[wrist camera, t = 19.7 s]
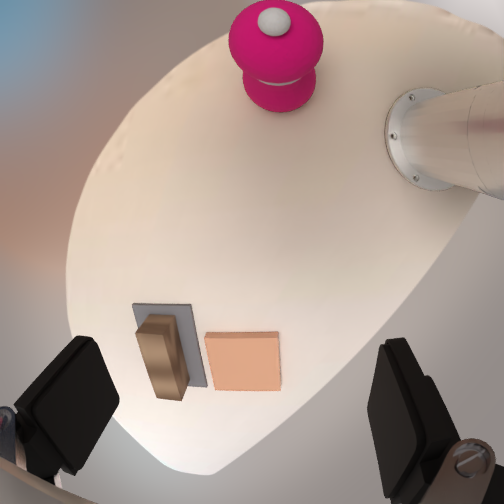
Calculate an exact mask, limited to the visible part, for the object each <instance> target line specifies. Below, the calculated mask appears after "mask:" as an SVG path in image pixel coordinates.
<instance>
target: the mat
mask: <svg viewBox="0 0 504 504" xmlns="http://www.w3.org/2000/svg"><path fill="white" fill-rule="evenodd" d="M132 308H133V311H134V315H135V319H136V322H137V326H138V329H139V327H140V326H141V325H142V323H143V322H144V321H145V319H146V318H147V317H148V315H149V314H156V315H175V318H176V322H177V327H178V331H179V336H180V340H181V345H182V349H183V353H184V357H185V361H186V365H187V369H188V373H189V377H190V381H189V384H188V386H193V387H207V386H208V385H207V381H206V376H205V372H204V367H203V362H202V358H201V353H200V348H199V343H198V338H197V333H196V328H195V323H194V318H193V312H192V307H191V304H137V303H133V304H132Z"/></svg>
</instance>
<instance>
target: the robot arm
mask: <svg viewBox="0 0 504 504" xmlns="http://www.w3.org/2000/svg"><path fill="white" fill-rule="evenodd" d="M409 97H411V100H410V99H409ZM391 134H392V135H393V138H391V136H390V135H391ZM385 140H386V145H387V150H388V153H389V155H390V158H391V160H392V162H393V164H394V166H395V167H396V169H397V170H398V171H399V173H400V174H401V175H402V176H403V177H404V178H405V179H406V180H407V181H409V182H410V183H412V184H413V185H415V186H417V187H420V188H422V189H426V190H430V191H442V190H447V189H449V188H451V187H453V186H455V185H458V186H461V187H464V188H467V189H471V190H474V191H477V192H480V193H483V194H486V195H489V196H492V197H495V198H498V199H501V200H504V81H499V82H495V83H491V84H486V85H481V86H477V87H473V88H469V89H465V90H461V91H457V92H453V93H449V94H446V93H444V92H442V91H440V90H437V89H433V88H418V89H414V90H411V91H409V92H407V93H405V94H404V95H402V96H400V98H399V99H398V100H397V101H396V102H395V103H394V104H393V106H392V108H391V109H390V111H389V114H388V117H387V121H386V127H385ZM413 176H415V178H414V179H413ZM118 405H119V395H118V393H117V390H116V388H115V386H114V384H113V381H112V379H111V377H110V374H109V372H108V369H107V367H106V364H105V362H104V359H103V357H102V354H101V352H100V349H99V346H98V344H97V343H96V342H95V341H94V339H93V338H92V337H87V336H80V335H79V336H76V337H75V338H74V339H73V340H72V341H71V342H70V343H69V344H68V345H67V346H66V347H65V348H64V349H63V350H62V351H61V352H60V353H59V354H58V355H57V356H56V358H55V359H54V360H53V361H52V362H51V363H50V364H49V365H48V366H47V367H46V368H45V369H44V371H43V372H42V373H41V374H40V375H39V376H38V377H37V378H36V379H35V381H34V382H33V383H32V384H31V385H30V386H29V387H28V388H27V390H26V391H25V392H24V393H23V394H22V395H21V397H20V398H19V399H18V400H17V401H16V402H15V403H14V406H15V408H16V409H17V411H18V412H17V414H15V412H14V411H13V410H12V409H11V408H10V407H7V406H2V407H0V504H97V503H94V502H92V501H89V500H87V499H84V498H82V497H79V496H77V495H75V494H72V493H70V492H68V491H65V490H63V489H62V484H61V480H60V476H59V469H60V468H61V469H62V470H63V471H64V472H66V473H69V474H71V475H74V476H75V475H76V473H77V471H78V470H80V469H82V467H83V466H84V464H85V462H86V460H87V459H88V457H89V455H90V453H91V452H92V450H93V448H94V446H95V444H96V443H97V441H98V439H99V438H100V436H101V434H102V432H103V431H104V429H105V427H106V425H107V424H108V422H109V420H110V419H111V417H112V415H113V413H114V412H115V410H116V408H117V407H118ZM367 412H368V417H369V422H370V427H371V431H372V436H373V440H374V445H375V450H376V454H377V460H378V464H379V470H380V475H381V481H382V486H383V492H384V496H385V498H390V500H391V504H401V503H402V504H504V467H503V466H501V465H498V464H495V463H496V457H495V453H494V451H493V449H492V447H491V446H489V445H488V444H487V443H486V442H484V441H482V440H480V439H474V438H470V439H464V440H461V439H460V437H459V435H458V432H457V430H456V428H455V426H454V423H453V421H452V419H451V417H450V415H449V412H448V410H447V408H446V406H445V404H444V402H443V400H442V398H441V396H440V394H439V391H438V390H437V388H436V385H435V383H434V381H433V380H432V378H431V377H430V376H428V375H427V376H424V374H423V372H422V370H421V368H420V366H419V364H418V362H417V360H416V358H415V356H414V354H413V352H412V350H411V348H410V346H409V345H408V343H407V341H406V339H405V338H394V339H387V340H386V341H385V344H382V345H380V347H379V352H378V358H377V363H376V368H375V373H374V378H373V383H372V387H371V393H370V396H369V401H368V406H367Z"/></svg>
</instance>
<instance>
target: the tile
mask: <svg viewBox="0 0 504 504" xmlns="http://www.w3.org/2000/svg"><path fill="white" fill-rule="evenodd" d="M204 340H205V345H206V350H207V355H208V360H209V364H210V369H211V374H212V378H213V383H214V387H215V390H225V391H281V378H280V358H279V339H278V332H239V333H215V332H207V333H206V335H205V337H204Z"/></svg>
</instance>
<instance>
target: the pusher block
mask: <svg viewBox="0 0 504 504" xmlns="http://www.w3.org/2000/svg"><path fill="white" fill-rule="evenodd" d="M135 334H136V338H137V341H138V344H139V347H140V351H141V354H142V357H143V360H144V363H145V366H146V369H147V372H148V375H149V378H150V381H151V383H152V386H153V389H154V392H155V394H156V397H157V398H160V399H168V400H176V401H182V399H183V396H184V394H185V391H186V389H187V386H188V384H189V381H190V377H189V373H188V369H187V365H186V361H185V357H184V353H183V349H182V345H181V340H180V336H179V331H178V327H177V322H176V318H175V315H156V314H149V315H148V317H147V318H146V319H145V321H144V322H143V323H142V325H141V326H140V327H139V329H138V330H137V331H136V333H135Z"/></svg>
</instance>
